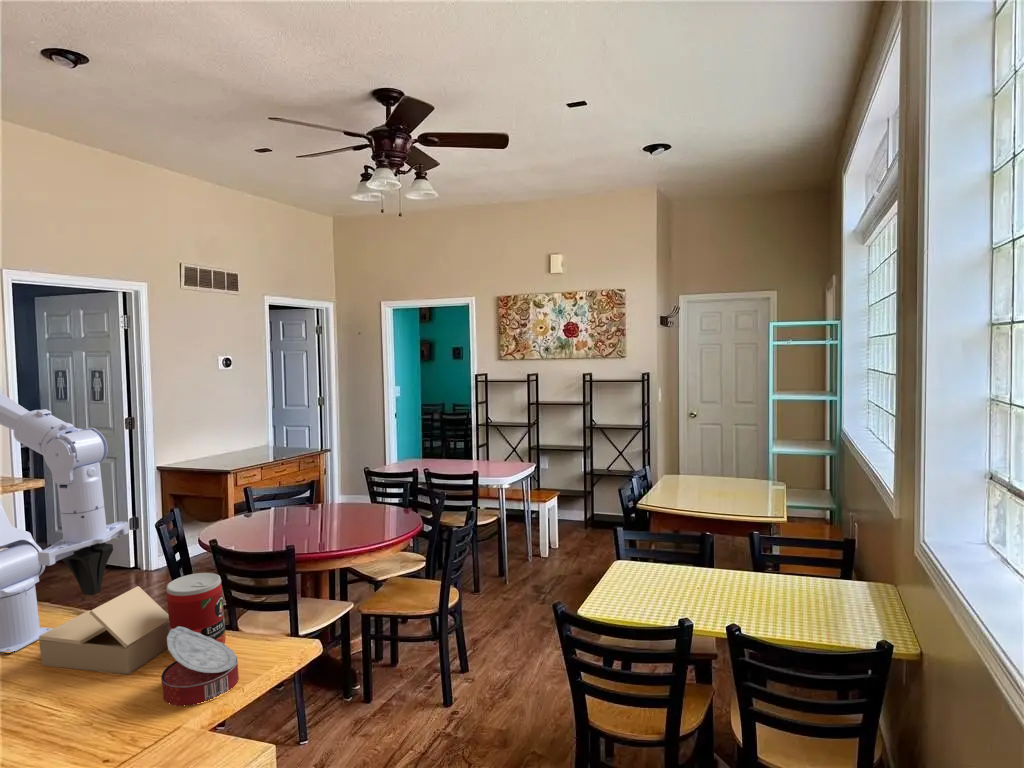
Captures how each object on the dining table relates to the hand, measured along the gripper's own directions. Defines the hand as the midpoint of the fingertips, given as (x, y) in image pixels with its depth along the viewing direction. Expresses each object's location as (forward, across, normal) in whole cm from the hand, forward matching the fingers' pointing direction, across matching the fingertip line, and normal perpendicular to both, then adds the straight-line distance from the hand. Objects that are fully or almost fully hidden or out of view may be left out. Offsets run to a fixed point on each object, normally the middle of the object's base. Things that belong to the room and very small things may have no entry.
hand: (91, 593), depth 104 cm
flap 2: (+3, 0, -7) cm, 8 cm away
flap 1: (+6, 0, +2) cm, 6 cm away
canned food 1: (+10, +4, -15) cm, 19 cm away
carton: (+10, 0, -2) cm, 10 cm away
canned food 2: (+10, -5, -23) cm, 26 cm away
